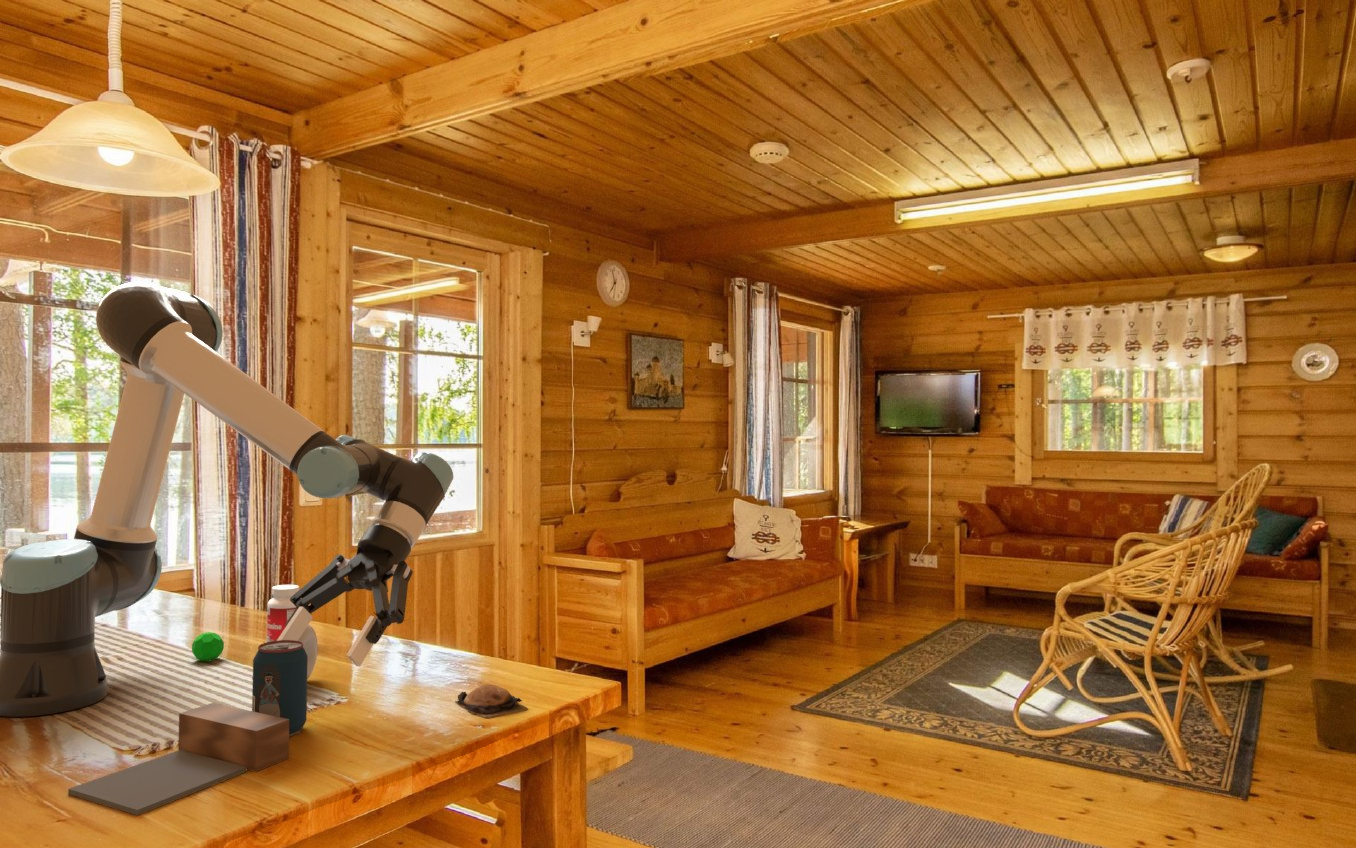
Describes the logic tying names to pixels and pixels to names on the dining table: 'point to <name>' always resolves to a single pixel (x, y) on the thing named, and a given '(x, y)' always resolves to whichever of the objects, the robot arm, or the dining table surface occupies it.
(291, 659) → the soda can
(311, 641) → the donut
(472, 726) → the dining table surface
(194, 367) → the robot arm
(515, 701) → the brown domed piece
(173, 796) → the charcoal mat
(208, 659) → the polyhedron
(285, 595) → the pill bottle
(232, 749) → the walnut block
